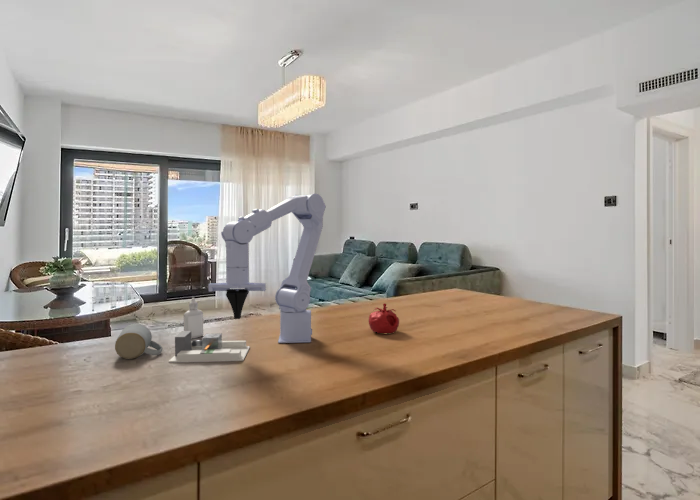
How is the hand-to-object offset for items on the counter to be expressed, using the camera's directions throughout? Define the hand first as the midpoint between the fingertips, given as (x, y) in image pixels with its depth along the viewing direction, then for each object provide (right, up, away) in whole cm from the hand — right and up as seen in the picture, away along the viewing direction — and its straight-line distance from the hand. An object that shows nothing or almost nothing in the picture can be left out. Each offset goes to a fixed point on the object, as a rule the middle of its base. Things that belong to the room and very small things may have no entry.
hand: (237, 318), depth 107 cm
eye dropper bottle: (-18, -9, +16) cm, 25 cm away
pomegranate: (+41, -9, +24) cm, 48 cm away
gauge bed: (-6, -9, -1) cm, 11 cm away
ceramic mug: (-25, -10, -2) cm, 27 cm away
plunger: (-8, -9, -3) cm, 12 cm away
